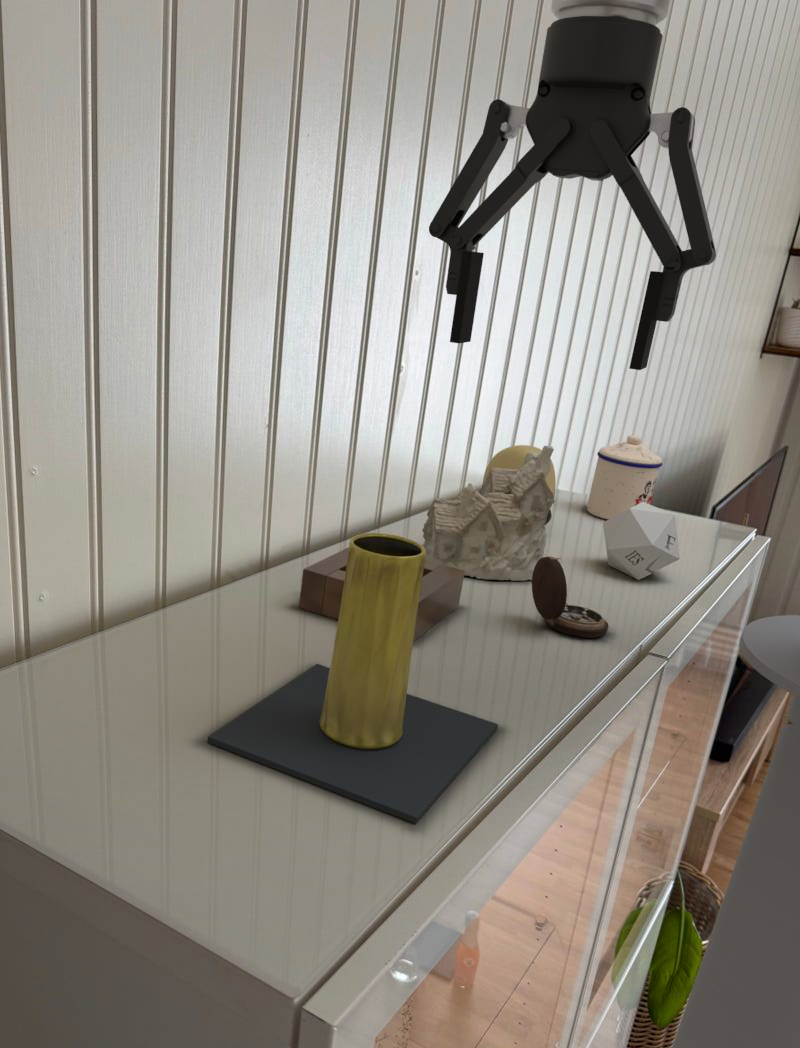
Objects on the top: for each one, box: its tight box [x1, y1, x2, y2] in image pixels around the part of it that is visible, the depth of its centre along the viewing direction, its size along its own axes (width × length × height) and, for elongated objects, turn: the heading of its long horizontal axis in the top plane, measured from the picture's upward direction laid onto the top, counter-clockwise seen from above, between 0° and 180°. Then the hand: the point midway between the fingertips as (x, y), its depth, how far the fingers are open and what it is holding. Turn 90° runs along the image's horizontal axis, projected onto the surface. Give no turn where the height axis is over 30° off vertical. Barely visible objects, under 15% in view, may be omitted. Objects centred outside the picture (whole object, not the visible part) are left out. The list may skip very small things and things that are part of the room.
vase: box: [319, 532, 426, 749], centre depth 68 cm, size 6×6×14 cm
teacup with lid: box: [586, 434, 663, 521], centre depth 140 cm, size 12×9×12 cm
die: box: [602, 502, 681, 581], centre depth 115 cm, size 8×9×10 cm
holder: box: [298, 546, 465, 642], centre depth 95 cm, size 12×12×4 cm
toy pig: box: [482, 444, 556, 527], centre depth 129 cm, size 10×12×11 cm
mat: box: [206, 663, 499, 825], centre depth 71 cm, size 16×16×1 cm
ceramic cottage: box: [421, 445, 556, 582], centre depth 111 cm, size 16×16×15 cm
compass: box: [531, 556, 609, 639], centre depth 96 cm, size 8×8×7 cm
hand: (545, 355), depth 72 cm, fingers open, 13 cm apart
